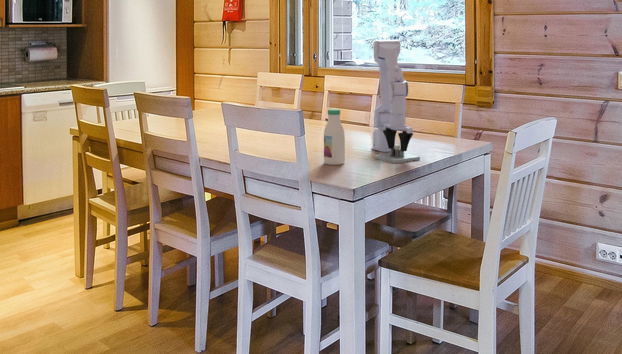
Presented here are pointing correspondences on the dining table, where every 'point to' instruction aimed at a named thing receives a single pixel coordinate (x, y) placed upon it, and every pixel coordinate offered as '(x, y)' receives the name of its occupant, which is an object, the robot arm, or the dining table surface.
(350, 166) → the dining table surface
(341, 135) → the milk bottle
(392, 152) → the split ring
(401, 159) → the stand
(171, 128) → the dining table surface
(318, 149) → the dining table surface
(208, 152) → the dining table surface
